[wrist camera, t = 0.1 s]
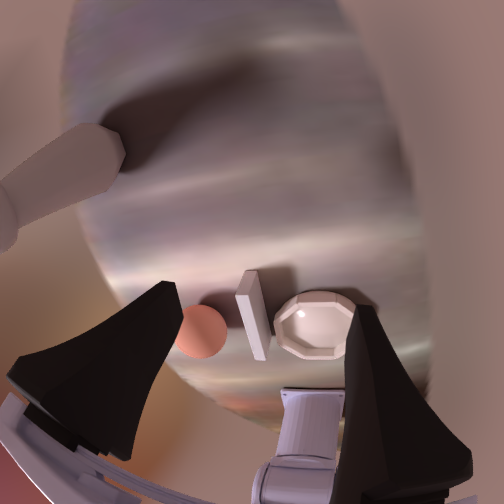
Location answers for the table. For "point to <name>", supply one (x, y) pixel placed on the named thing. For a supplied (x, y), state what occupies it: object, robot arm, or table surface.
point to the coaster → (314, 324)
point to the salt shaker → (59, 177)
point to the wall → (254, 314)
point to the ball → (201, 332)
